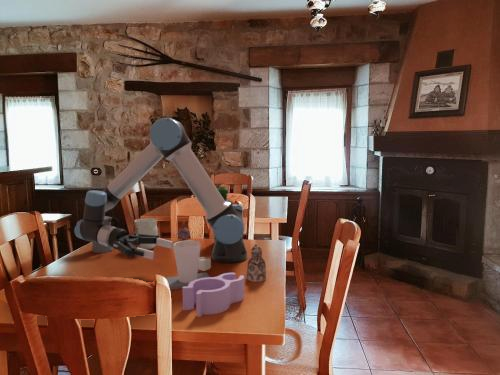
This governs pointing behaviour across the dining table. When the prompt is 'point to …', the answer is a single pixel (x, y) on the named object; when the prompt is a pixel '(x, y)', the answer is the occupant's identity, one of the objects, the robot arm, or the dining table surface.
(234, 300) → the clip
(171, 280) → the slate mat
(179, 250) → the foam cup
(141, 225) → the pitcher
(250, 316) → the dining table surface
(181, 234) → the vegetable
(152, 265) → the dining table surface
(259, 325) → the dining table surface
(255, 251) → the figurine
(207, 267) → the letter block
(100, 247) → the coffeepot
